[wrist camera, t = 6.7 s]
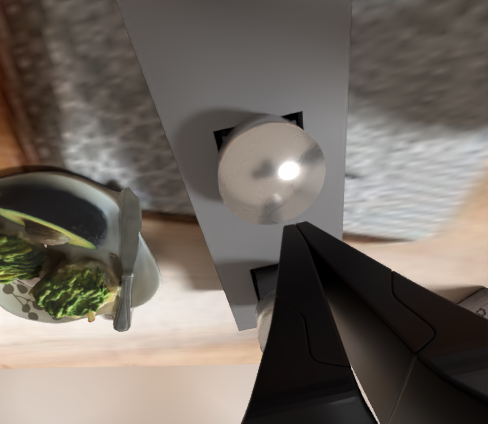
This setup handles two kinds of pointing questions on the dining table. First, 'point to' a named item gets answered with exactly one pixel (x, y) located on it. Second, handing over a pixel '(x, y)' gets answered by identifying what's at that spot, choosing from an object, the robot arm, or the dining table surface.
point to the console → (245, 107)
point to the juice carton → (477, 303)
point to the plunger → (265, 300)
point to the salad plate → (72, 249)
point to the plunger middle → (269, 169)
